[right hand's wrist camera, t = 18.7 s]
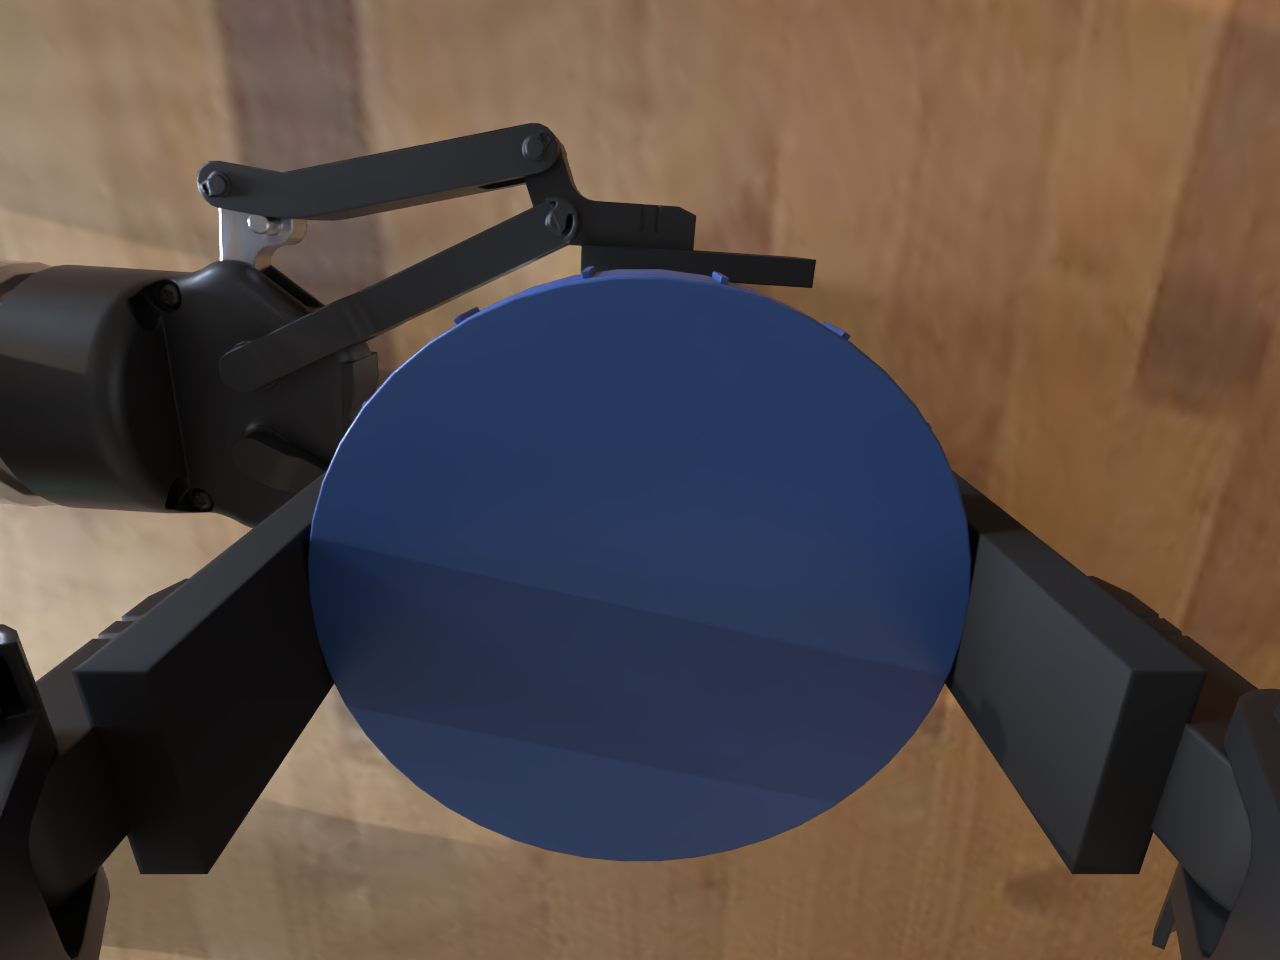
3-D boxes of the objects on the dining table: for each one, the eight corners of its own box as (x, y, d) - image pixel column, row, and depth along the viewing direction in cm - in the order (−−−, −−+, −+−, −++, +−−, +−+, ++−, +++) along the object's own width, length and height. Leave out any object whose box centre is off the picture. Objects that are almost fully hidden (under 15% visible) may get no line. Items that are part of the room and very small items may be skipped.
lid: (978, 717, 13) (1021, 782, 11) (487, 846, 14) (468, 920, 12) (864, 167, 10) (905, 156, 8) (235, 392, 11) (169, 420, 9)
